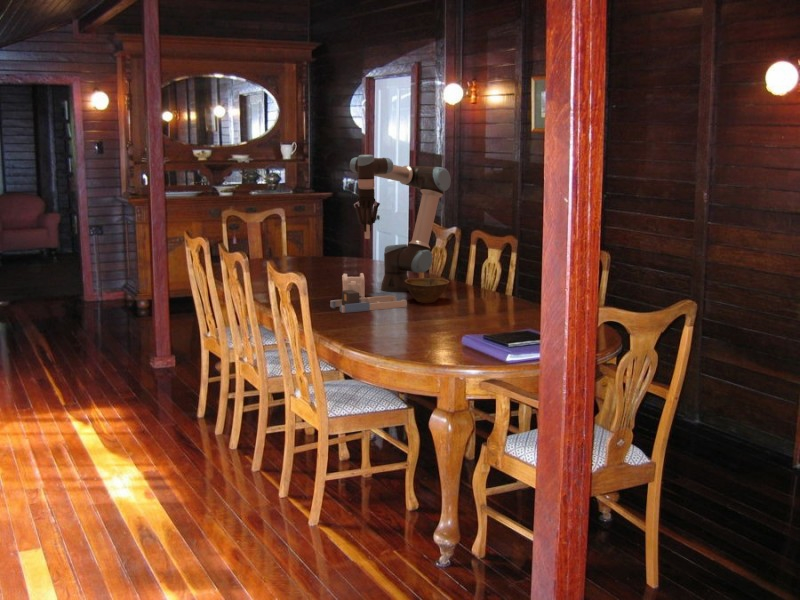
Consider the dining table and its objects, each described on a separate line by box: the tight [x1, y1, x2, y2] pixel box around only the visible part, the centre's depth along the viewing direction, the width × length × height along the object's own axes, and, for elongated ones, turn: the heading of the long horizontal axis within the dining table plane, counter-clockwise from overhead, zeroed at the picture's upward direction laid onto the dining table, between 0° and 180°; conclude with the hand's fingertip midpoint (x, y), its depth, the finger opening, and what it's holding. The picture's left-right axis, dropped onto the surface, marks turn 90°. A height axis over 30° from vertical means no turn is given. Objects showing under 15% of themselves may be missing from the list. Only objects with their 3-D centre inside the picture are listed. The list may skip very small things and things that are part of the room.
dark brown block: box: [341, 289, 360, 306], centre depth 424 cm, size 5×9×8 cm, turn 25°
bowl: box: [405, 277, 450, 304], centre depth 441 cm, size 22×23×10 cm
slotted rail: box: [329, 294, 408, 314], centre depth 428 cm, size 32×16×4 cm, turn 115°
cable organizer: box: [341, 272, 366, 298], centre depth 449 cm, size 15×11×12 cm
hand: (367, 238), depth 434 cm, fingers closed
